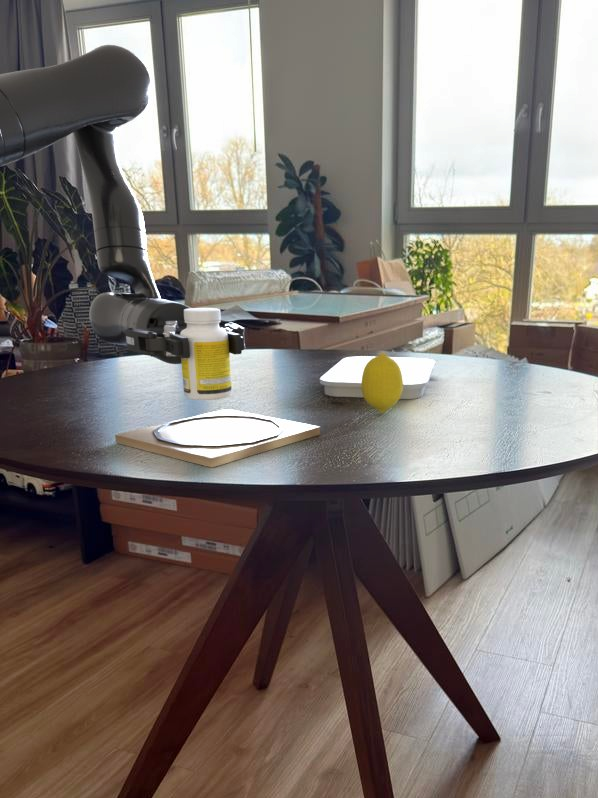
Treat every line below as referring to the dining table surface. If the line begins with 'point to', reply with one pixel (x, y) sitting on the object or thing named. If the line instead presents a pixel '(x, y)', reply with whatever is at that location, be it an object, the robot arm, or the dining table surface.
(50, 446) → the dining table surface
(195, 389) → the supplement bottle
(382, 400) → the lemon
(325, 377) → the white rectangular tray
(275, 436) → the mirror board
